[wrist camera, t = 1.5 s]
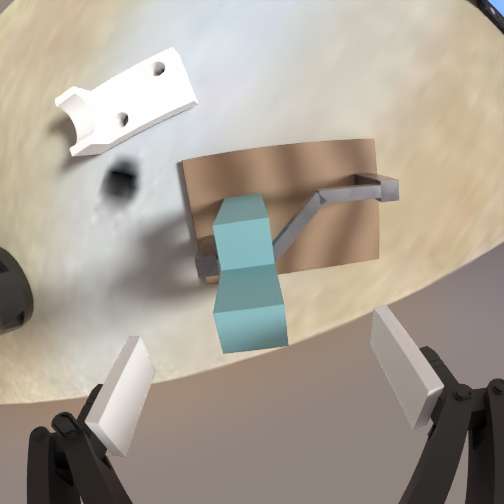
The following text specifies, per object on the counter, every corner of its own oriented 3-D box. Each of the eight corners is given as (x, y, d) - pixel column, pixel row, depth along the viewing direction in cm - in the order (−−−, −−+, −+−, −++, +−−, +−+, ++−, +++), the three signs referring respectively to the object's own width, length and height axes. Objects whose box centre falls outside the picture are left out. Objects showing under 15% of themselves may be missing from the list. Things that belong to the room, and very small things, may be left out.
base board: (207, 280, 36) (206, 283, 35) (183, 160, 31) (182, 160, 30) (375, 255, 36) (378, 258, 35) (370, 138, 30) (374, 138, 29)
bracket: (104, 153, 31) (72, 156, 24) (88, 106, 28) (54, 99, 21) (199, 105, 29) (186, 93, 22) (179, 56, 27) (162, 33, 20)
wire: (217, 267, 35) (210, 295, 28) (198, 237, 33) (187, 259, 27) (375, 187, 31) (404, 197, 25) (361, 153, 30) (389, 156, 23)
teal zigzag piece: (238, 279, 35) (233, 390, 18) (224, 198, 32) (200, 255, 15) (271, 275, 35) (291, 383, 18) (260, 192, 32) (277, 244, 15)
